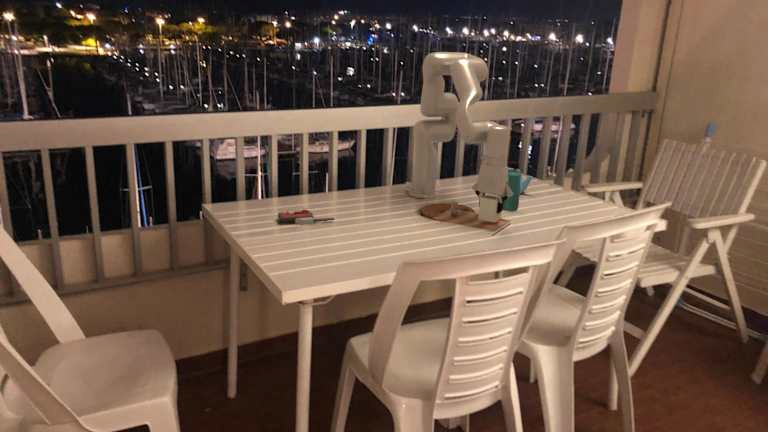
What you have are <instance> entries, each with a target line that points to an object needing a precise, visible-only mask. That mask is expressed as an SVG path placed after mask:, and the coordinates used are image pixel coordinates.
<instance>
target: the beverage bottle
mask: <svg viewBox="0 0 768 432" xmlns="http://www.w3.org/2000/svg"><path fill="white" fill-rule="evenodd" d="M507 167H508V168H513V169H514V170H508V186H509V188H510V189H511V191H512V192H513V195H512V196H511V197H509V198H508V199H507V200H505V201H504V202H503V210H502V211H508V212H515V211H518V209H519V207H520V206H519V205H520V204H519V203H520V194H519V193H520V181H521V175H522V172H521V171H520V172H519V171H517V170H516V169H520V162H519V161H509V162H508V164H507ZM507 194H508V193H507V192H506V193H504V196H506V195H507Z"/></svg>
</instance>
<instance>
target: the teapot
mask: <svg viewBox="0 0 768 432" xmlns="http://www.w3.org/2000/svg"><path fill="white" fill-rule="evenodd" d="M508 170H517V171H519V172H520V173H521V169H520V168H518V169H513V168H509V167H508ZM532 179H533V176H532V175H528V176H527V178H526V179H524V177H523V175H522V174H521V181H520V193H519V195H521V194H523V193H524V192H525V190H527V189H528V187H529V184H530V182H531V181H532Z"/></svg>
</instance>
